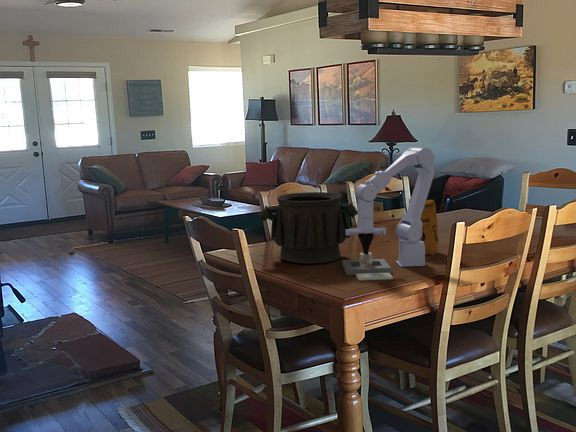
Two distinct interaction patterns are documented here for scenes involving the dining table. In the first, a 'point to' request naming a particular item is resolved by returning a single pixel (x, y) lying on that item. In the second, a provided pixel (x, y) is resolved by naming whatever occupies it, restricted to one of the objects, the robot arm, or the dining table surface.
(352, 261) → the holder plate
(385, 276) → the green tile
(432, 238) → the coffee package
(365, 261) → the cream block
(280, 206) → the vessel
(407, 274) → the dining table surface
